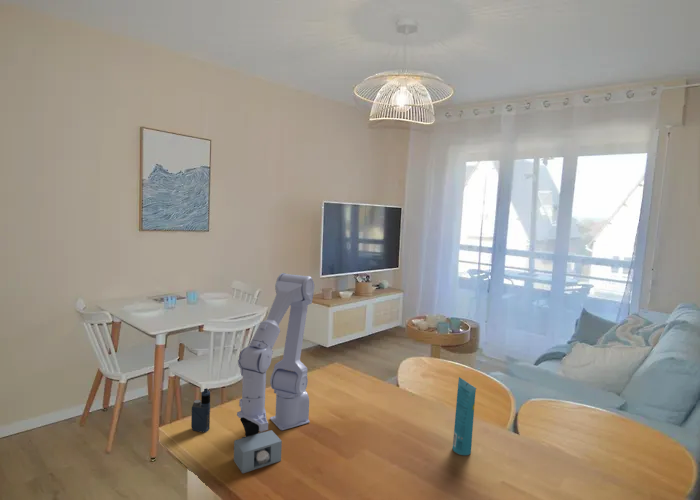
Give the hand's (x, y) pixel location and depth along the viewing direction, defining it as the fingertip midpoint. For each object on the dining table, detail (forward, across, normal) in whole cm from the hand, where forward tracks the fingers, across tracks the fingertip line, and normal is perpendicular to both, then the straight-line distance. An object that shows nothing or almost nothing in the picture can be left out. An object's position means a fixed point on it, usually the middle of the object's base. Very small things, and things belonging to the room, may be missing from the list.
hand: (251, 444), depth 106 cm
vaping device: (+3, -18, -8) cm, 20 cm away
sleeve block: (+2, +4, 0) cm, 5 cm away
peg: (+1, +4, 0) cm, 4 cm away
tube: (+2, +27, +49) cm, 56 cm away
